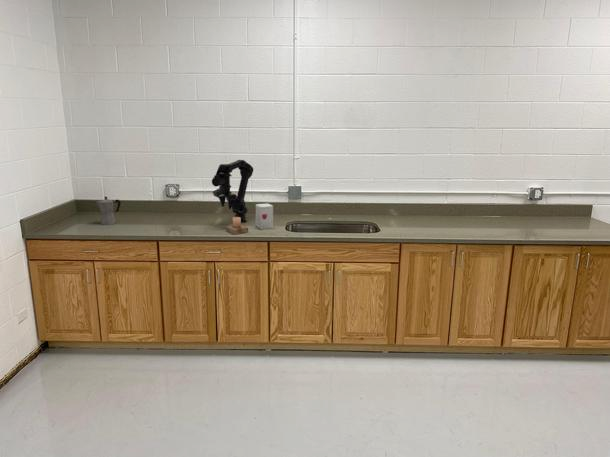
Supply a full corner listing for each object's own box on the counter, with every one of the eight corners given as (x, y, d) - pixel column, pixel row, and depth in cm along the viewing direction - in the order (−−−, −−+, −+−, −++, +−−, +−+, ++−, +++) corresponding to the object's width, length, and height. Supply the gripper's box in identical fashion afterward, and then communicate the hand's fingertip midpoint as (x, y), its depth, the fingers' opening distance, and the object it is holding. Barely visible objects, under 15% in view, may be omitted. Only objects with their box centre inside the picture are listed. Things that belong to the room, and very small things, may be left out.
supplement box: (260, 229, 295) (260, 206, 291) (255, 226, 303) (255, 204, 299) (273, 228, 299) (273, 205, 295) (268, 225, 307) (267, 203, 303)
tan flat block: (240, 228, 296) (240, 224, 295) (248, 232, 288) (248, 227, 288) (226, 231, 290) (226, 226, 290) (233, 234, 283) (233, 229, 282)
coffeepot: (97, 225, 300) (94, 198, 296) (97, 222, 308) (94, 196, 304) (122, 223, 306) (120, 197, 301) (122, 220, 314) (119, 194, 310)
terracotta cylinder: (238, 225, 292) (238, 216, 291) (242, 227, 288) (242, 218, 287) (231, 226, 289) (231, 217, 288) (235, 228, 285) (234, 219, 284)
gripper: (207, 183, 298) (208, 207, 302) (221, 187, 283) (222, 212, 288) (222, 181, 304) (223, 204, 308) (237, 185, 290) (237, 209, 294)
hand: (226, 207), depth 299 cm, fingers open, 9 cm apart
